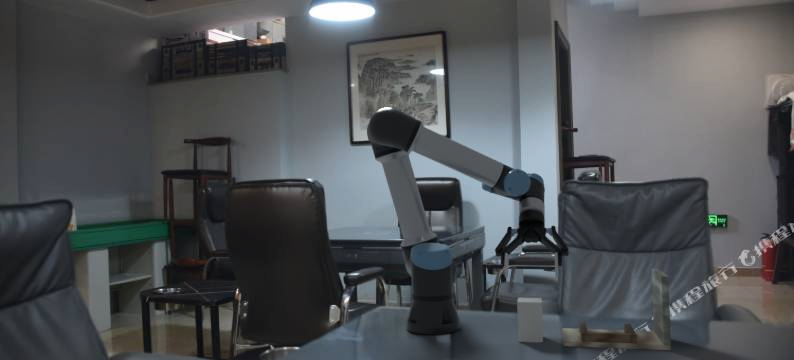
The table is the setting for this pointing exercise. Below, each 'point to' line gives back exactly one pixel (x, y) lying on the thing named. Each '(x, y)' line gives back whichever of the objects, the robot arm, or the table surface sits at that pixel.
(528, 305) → the grey upright block
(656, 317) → the display stand
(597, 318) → the table surface
